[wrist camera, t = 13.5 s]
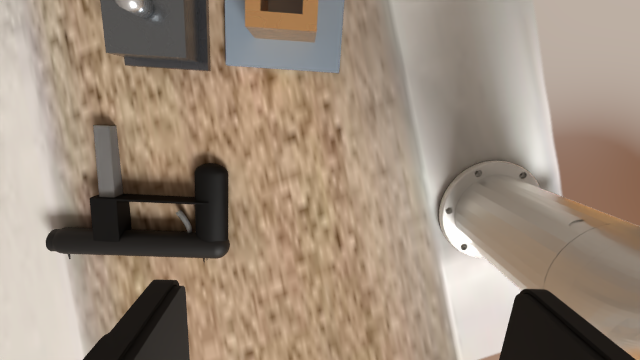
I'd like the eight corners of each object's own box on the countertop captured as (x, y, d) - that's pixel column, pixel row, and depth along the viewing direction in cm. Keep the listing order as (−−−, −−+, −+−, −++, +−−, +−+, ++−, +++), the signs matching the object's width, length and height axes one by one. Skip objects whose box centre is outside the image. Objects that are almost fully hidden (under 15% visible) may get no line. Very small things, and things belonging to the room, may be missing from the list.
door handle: (28, 122, 32) (46, 266, 35) (226, 133, 33) (226, 271, 36) (54, 121, 35) (68, 253, 38) (233, 131, 36) (232, 259, 39)
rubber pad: (347, -54, 31) (348, -57, 30) (338, 72, 34) (339, 72, 33) (225, -66, 30) (223, -69, 29) (227, 65, 33) (225, 64, 32)
